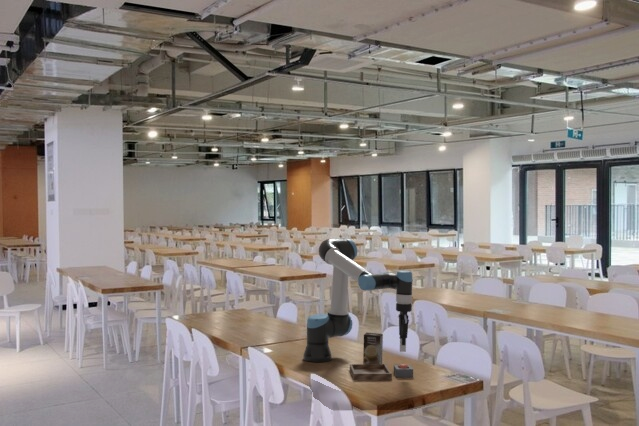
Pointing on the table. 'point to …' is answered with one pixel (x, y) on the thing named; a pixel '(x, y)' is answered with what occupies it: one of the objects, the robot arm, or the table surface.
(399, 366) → the button
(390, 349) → the table surface
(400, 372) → the button housing
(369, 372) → the wooden tray
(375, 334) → the coffee box
